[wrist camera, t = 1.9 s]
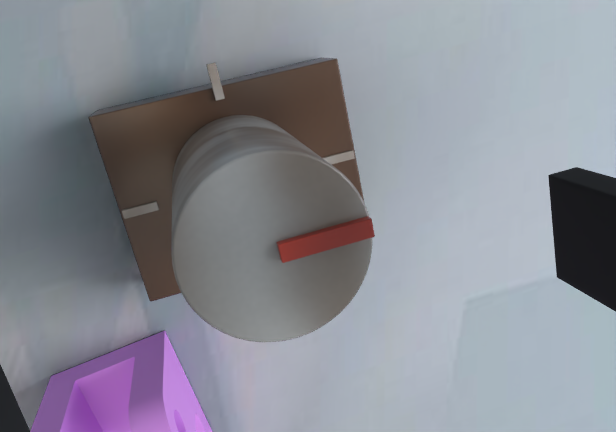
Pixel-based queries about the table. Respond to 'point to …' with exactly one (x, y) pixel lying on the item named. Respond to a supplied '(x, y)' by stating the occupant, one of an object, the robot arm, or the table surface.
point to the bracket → (123, 393)
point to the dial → (265, 231)
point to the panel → (189, 119)
